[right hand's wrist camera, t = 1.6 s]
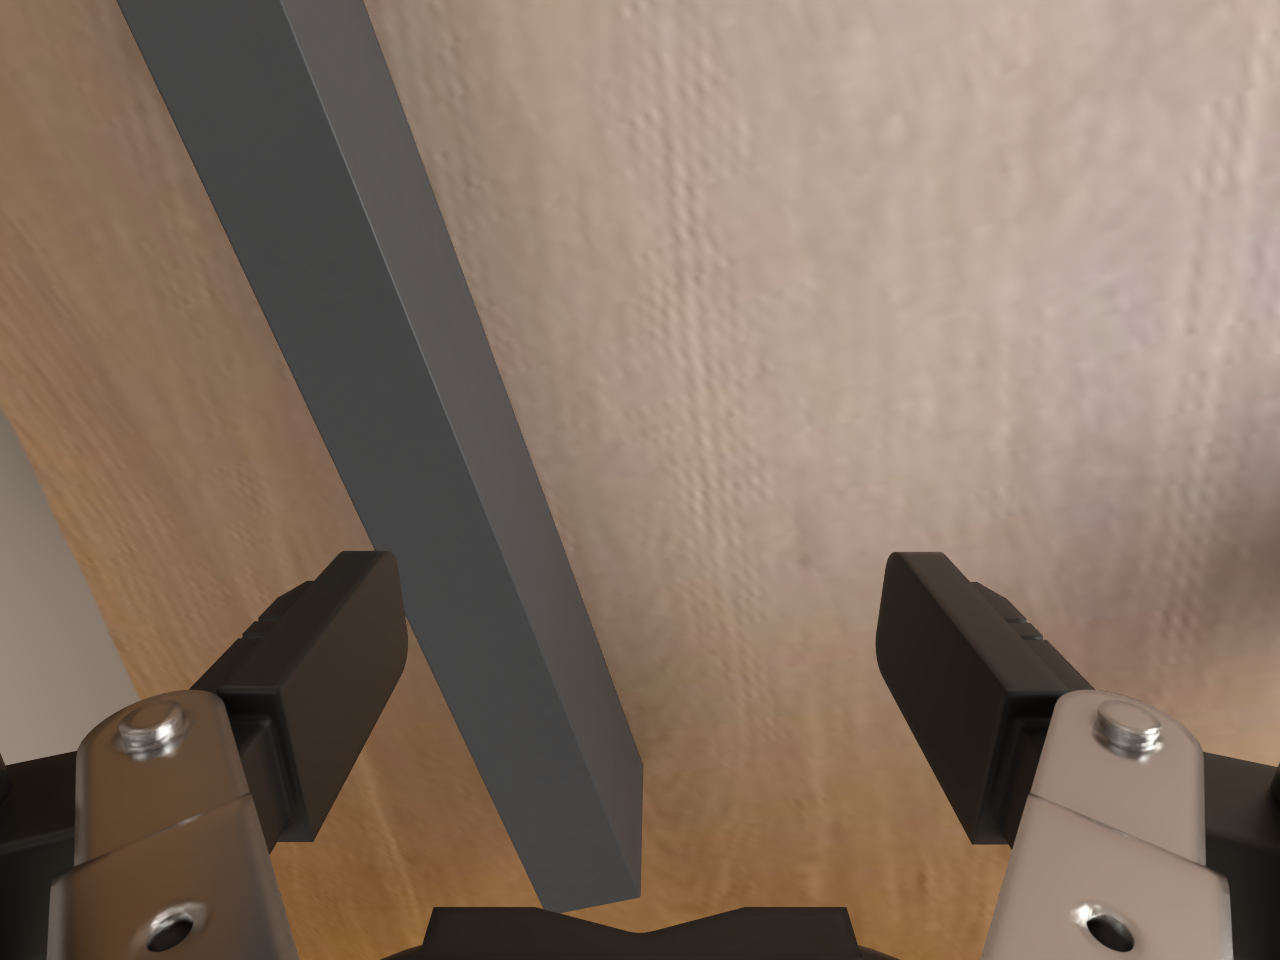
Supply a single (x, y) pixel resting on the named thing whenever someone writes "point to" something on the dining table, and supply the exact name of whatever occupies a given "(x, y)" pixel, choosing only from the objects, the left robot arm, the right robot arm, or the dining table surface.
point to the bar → (408, 407)
